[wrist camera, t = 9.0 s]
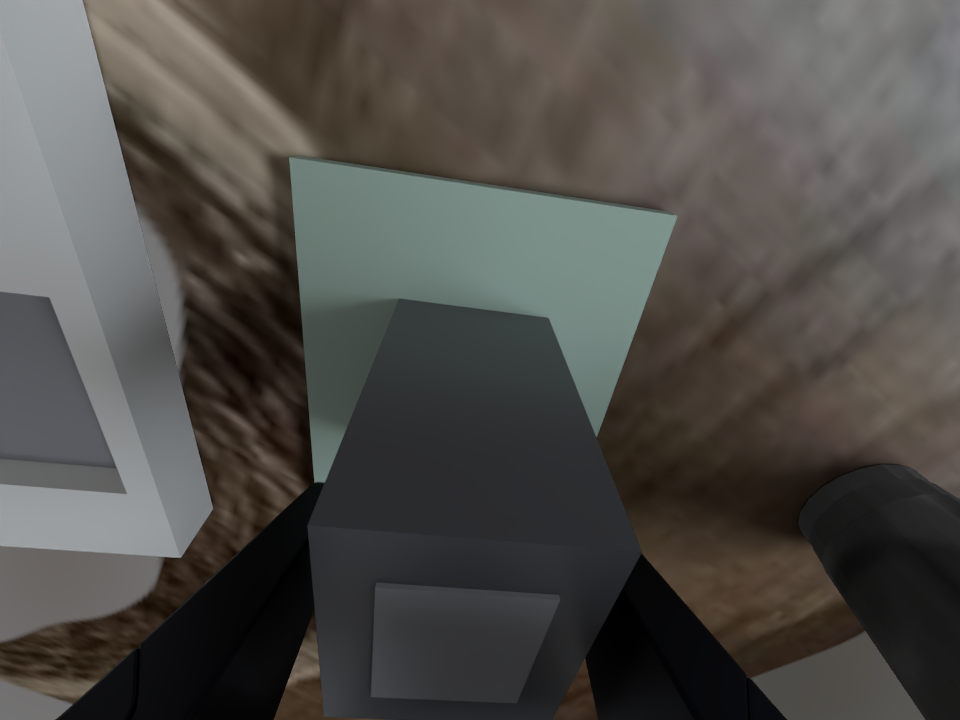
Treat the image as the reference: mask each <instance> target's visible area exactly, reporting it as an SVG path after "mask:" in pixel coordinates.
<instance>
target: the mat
mask: <svg viewBox="0 0 960 720" xmlns="http://www.w3.org/2000/svg"><path fill="white" fill-rule="evenodd" d="M289 162H290V175H291V188H292V201H293V213H294V226H295V239H296V252H297V265H298V278H299V291H300V303H301V316H302V329H303V342H304V355H305V368H306V381H307V393H308V406H309V419H310V432H311V445H312V458H313V471H314V483H315V482H325V481H326V478H327V476H328V473H329V471H330V468H331V466H332V463H333V461H334V458H335V456H336V454H337V451H338V449H339V446H340V444H341V441H342V439H343V436H344V434H345V431H346V429H347V426H348V424H349V421H350V419H351V416H352V414H353V411H354V409H355V406H356V404H357V402H358V399H359V397H360V394H361V392H362V389H363V387H364V384H365V382H366V379H367V377H368V374H369V372H370V369H371V367H372V364H373V362H374V359H375V357H376V354H377V352H378V349H379V347H380V345H381V342H382V340H383V337H384V335H385V332H386V330H387V327H388V325H389V322H390V320H391V317H392V315H393V312H394V310H395V307H396V305H397V302H398V300H399V298H400V299H408V300H415V301H423V302H431V303H438V304H446V305H454V306H461V307H469V308H477V309H484V310H492V311H500V312H507V313H515V314H523V315H530V316H538V317H546V318H549V320H550V322H551V325H552V327H553V330H554V332H555V335H556V338H557V340H558V343H559V345H560V348H561V350H562V353H563V355H564V358H565V360H566V363H567V365H568V368H569V370H570V373H571V375H572V378H573V380H574V383H575V385H576V388H577V390H578V393H579V395H580V398H581V400H582V403H583V405H584V408H585V410H586V413H587V415H588V418H589V420H590V423H591V425H592V428H593V430H594V433H595V435H596V438H597V435H598V433H599V430H600V427H601V424H602V422H603V419H604V416H605V413H606V411H607V408H608V405H609V402H610V400H611V397H612V394H613V391H614V389H615V386H616V383H617V380H618V378H619V375H620V372H621V369H622V367H623V364H624V361H625V358H626V356H627V353H628V350H629V348H630V345H631V342H632V339H633V337H634V334H635V331H636V328H637V326H638V323H639V320H640V317H641V315H642V312H643V309H644V306H645V304H646V301H647V298H648V295H649V293H650V290H651V287H652V284H653V282H654V279H655V276H656V273H657V271H658V268H659V265H660V262H661V260H662V257H663V254H664V251H665V249H666V246H667V243H668V240H669V238H670V235H671V232H672V229H673V227H674V224H675V221H676V218H677V215H674V214H672V213H670V212H668V211H663V210H656V209H649V208H643V207H636V206H630V205H623V204H616V203H610V202H603V201H597V200H590V199H583V198H577V197H570V196H564V195H557V194H550V193H544V192H537V191H531V190H524V189H517V188H511V187H504V186H497V185H491V184H484V183H478V182H471V181H464V180H458V179H451V178H445V177H438V176H431V175H425V174H418V173H412V172H405V171H398V170H392V169H385V168H379V167H372V166H365V165H359V164H352V163H346V162H339V161H332V160H326V159H319V158H313V157H306V156H294V157H289Z"/></svg>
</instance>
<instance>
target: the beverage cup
mask: <svg viewBox="0 0 960 720" xmlns="http://www.w3.org/2000/svg"><path fill="white" fill-rule="evenodd" d="M798 524H799V527H800V530H801V532H802V534H803V535H804V536H805V538H806V539H807V540H808V541H809V543H810V544H811V545H812V547H813V550H814V551H815V553H816V555H817V556H818V558H819V559H820V561H821V562H822V564H823V566H824V569H825V571H826V573H827V574H828V576H829V577H830V579H831V580H832V582H833V583H834V585H835V586H836V588H837V589H838V591H839V592H840V594H841V595H842V597H843V598H844V600H845V601H846V603H847V604H848V606H849V607H850V609H851V610H852V612H853V613H854V614H855V616H856V617H857V619H858V620H859V622H860V623H861V625H862V626H863V628H864V629H865V631H866V632H867V634H868V635H869V637H870V638H871V640H872V641H873V643H874V644H875V645H876V647H877V649H878V650H879V651H880V653H881V654H882V656H883V657H884V659H885V660H886V662H887V663H888V665H889V666H890V668H891V669H892V671H893V672H894V674H895V675H896V677H897V678H898V680H899V681H900V683H901V684H902V686H903V687H904V689H905V690H906V691H907V693H908V694H909V696H910V697H911V699H912V700H913V702H914V703H915V705H916V706H917V708H918V709H919V711H920V712H921V714H922V715H923V717H924V718H925V720H960V499H959V498H956V497H955V496H953V495H952V494H950V493H949V492H947V491H945V490H944V489H942V488H941V487H939V486H938V485H936V484H934V483H931V482H929V481H928V480H927V479H926V478H924V477H923V476H922V475H920V474H919V473H918V472H917V471H915V470H914V469H911V468H908V467H905V466H902V465H886V464H881V465H876V466H870V467H865V468H860V469H858V470H855V471H852V472H850V473H847V474H845V475H842V476H840V477H838V478H836V479H835V480H833V481H831V482H830V483H828V484H826V485H825V486H823V487H822V488H820V489H819V490H818V491H817V492H816V493H815V494H814V495H813V496H812V497H811V498H809V499H808V501H807V502H806V504H805V506H804V507H803V509H802V510H801V512H800V517H799V522H798Z"/></svg>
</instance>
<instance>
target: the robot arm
mask: <svg viewBox="0 0 960 720" xmlns="http://www.w3.org/2000/svg"><path fill="white" fill-rule="evenodd" d="M324 483H325V482H315V483H313V484H312V485H311V486H309V487H308V488H307V489H306V490H305V491H304V492H303V493H302V494H301V495H300V496H299V497H298V498H296V499H295V500H294V501H293V502H292V503H291V504H290V505H289V506H288V507H287V508H286V509H285V510H284V511H282V512H281V513H280V514H279V515H278V516H277V517H276V518H275V519H274V520H273V521H272V522H271V523H270V524H268V525H267V526H266V527H265V528H264V529H263V530H262V531H261V532H260V533H259V534H258V535H257V536H256V537H254V538H253V539H252V540H251V541H250V542H249V543H248V544H247V545H246V546H245V547H244V548H243V549H242V550H240V551H239V552H238V553H237V554H236V555H235V556H234V557H233V558H232V559H231V560H230V561H229V562H228V563H226V564H225V565H224V566H223V567H222V568H221V569H220V570H219V571H218V572H217V573H216V574H215V575H214V576H212V577H211V578H210V579H209V580H208V581H207V582H206V583H205V584H204V585H203V586H202V587H201V588H200V589H198V590H197V591H196V592H195V593H194V594H193V595H192V596H191V597H190V598H189V599H188V600H187V601H186V602H184V603H183V604H182V605H181V606H180V607H179V608H178V609H177V610H176V611H175V612H174V613H173V614H171V615H170V616H169V617H168V618H167V619H166V620H165V621H164V622H163V623H162V624H161V625H160V626H159V627H157V628H156V629H155V630H154V631H153V632H152V633H151V634H150V635H149V636H148V637H147V638H146V639H145V640H143V641H142V642H141V644H140V649H139V648H135V649H133V650H132V651H131V652H130V653H129V654H128V655H127V656H126V657H125V658H124V659H123V660H122V661H121V662H119V663H118V664H117V665H116V666H115V667H114V668H113V669H112V670H111V671H110V672H109V673H108V674H106V675H105V676H104V677H103V678H102V679H101V680H100V681H99V682H98V683H96V684H95V685H94V686H93V687H92V688H91V689H90V690H89V691H87V692H86V693H85V694H84V695H83V696H82V697H81V698H80V699H79V700H77V701H76V702H75V703H74V704H73V705H72V706H71V707H70V708H69V709H68V710H66V711H65V712H64V713H63V714H62V715H61V716H59V717H58V718H57V719H56V720H274V717H275V714H276V712H277V709H278V706H279V703H280V701H281V698H282V695H283V693H284V690H285V687H286V684H287V682H288V679H289V676H290V674H291V671H292V668H293V665H294V663H295V660H296V657H297V655H298V652H299V649H300V646H301V644H302V641H303V638H304V636H305V633H306V630H307V627H308V625H309V622H310V619H311V616H312V614H313V611H314V608H315V607H314V595H313V584H312V572H311V561H310V549H309V538H308V526H307V525H308V523H309V520H310V518H311V515H312V513H313V510H314V508H315V506H316V503H317V501H318V498H319V496H320V493H321V491H322V488H323V486H324ZM585 659H586V664H587V669H588V673H589V678H590V683H591V688H592V692H593V697H594V702H595V707H596V711H597V716H598V720H787V719H786V718H785V717H784V716H783V715H782V713H781V712H780V711H779V710H778V709H777V708H776V707H775V706H774V705H773V704H772V702H771V701H770V700H769V699H768V698H767V697H766V695H765V694H764V693H763V692H762V691H761V690H760V689H759V688H758V686H757V685H756V684H755V683H754V682H753V681H752V680H751V679H750V678H747V675H746V673H745V672H744V670H743V669H742V668H741V667H740V666H739V665H738V664H737V662H736V661H735V660H734V659H733V658H732V657H731V656H730V654H729V653H728V652H727V651H726V650H725V649H724V648H723V646H722V645H721V644H720V643H719V642H718V641H717V639H716V638H715V637H714V636H713V635H712V634H711V633H710V631H709V630H708V629H707V628H706V627H705V626H704V625H703V623H702V622H701V621H700V620H699V619H698V618H697V617H696V615H695V614H694V613H693V612H692V611H691V610H690V608H689V607H688V606H687V605H686V604H685V603H684V602H683V600H682V599H681V598H680V597H679V596H678V595H677V594H676V592H675V591H674V590H673V589H672V588H671V587H670V586H669V584H668V583H667V582H666V581H665V580H664V579H663V578H662V576H661V575H660V574H659V573H658V572H657V571H656V569H655V568H654V567H653V566H652V565H651V564H650V563H649V561H648V560H647V559H646V558H645V557H644V556H643V555H642V553H641V555H640V557H639V559H638V561H637V562H636V564H635V566H634V568H633V570H632V572H631V574H630V575H629V577H628V579H627V581H626V583H625V585H624V587H623V588H622V590H621V592H620V594H619V596H618V598H617V600H616V601H615V603H614V605H613V607H612V609H611V611H610V613H609V614H608V616H607V618H606V620H605V622H604V624H603V626H602V627H601V629H600V631H599V633H598V635H597V637H596V639H595V640H594V642H593V644H592V646H591V648H590V650H589V652H588V653H587V655H586V657H585Z"/></svg>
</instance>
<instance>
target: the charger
mask: <svg viewBox="0 0 960 720" xmlns="http://www.w3.org/2000/svg"><path fill="white" fill-rule="evenodd" d="M307 526H308V538H309V549H310V561H311V572H312V584H313V595H314V607H315V619H316V630H317V642H318V653H319V665H320V676H321V688H322V699H323V711H324V717H346V718H371V719H397V720H552V719H553V717H554V715H555V713H556V711H557V709H558V707H559V706H560V704H561V702H562V700H563V698H564V696H565V694H566V693H567V691H568V689H569V687H570V685H571V683H572V681H573V680H574V678H575V676H576V674H577V672H578V670H579V668H580V667H581V665H582V663H583V661H584V659H585V657H586V655H587V653H588V652H589V650H590V648H591V646H592V644H593V642H594V640H595V639H596V637H597V635H598V633H599V631H600V629H601V627H602V626H603V624H604V622H605V620H606V618H607V616H608V614H609V613H610V611H611V609H612V607H613V605H614V603H615V601H616V600H617V598H618V596H619V594H620V592H621V590H622V588H623V587H624V585H625V583H626V581H627V579H628V577H629V575H630V574H631V572H632V570H633V568H634V566H635V564H636V562H637V561H638V559H639V557H640V555H641V553H642V551H641V548H640V546H639V543H638V541H637V538H636V536H635V533H634V531H633V528H632V526H631V523H630V521H629V518H628V516H627V513H626V511H625V508H624V506H623V503H622V501H621V498H620V496H619V493H618V490H617V488H616V485H615V483H614V480H613V478H612V475H611V473H610V470H609V468H608V465H607V463H606V460H605V458H604V455H603V453H602V450H601V448H600V445H599V443H598V440H597V438H596V435H595V433H594V430H593V428H592V425H591V423H590V420H589V418H588V415H587V413H586V410H585V408H584V405H583V403H582V400H581V398H580V395H579V393H578V390H577V388H576V385H575V383H574V380H573V378H572V375H571V373H570V370H569V368H568V365H567V363H566V360H565V358H564V355H563V353H562V350H561V348H560V345H559V343H558V340H557V338H556V335H555V332H554V330H553V327H552V325H551V322H550V320H549V318H546V317H538V316H530V315H523V314H515V313H507V312H500V311H492V310H484V309H477V308H469V307H461V306H454V305H446V304H438V303H431V302H423V301H415V300H408V299H400V298H399V300H398V302H397V305H396V307H395V310H394V312H393V315H392V317H391V320H390V322H389V325H388V327H387V330H386V332H385V335H384V337H383V340H382V342H381V345H380V347H379V349H378V352H377V354H376V357H375V359H374V362H373V364H372V367H371V369H370V372H369V374H368V377H367V379H366V382H365V384H364V387H363V389H362V392H361V394H360V397H359V399H358V402H357V404H356V406H355V409H354V411H353V414H352V416H351V419H350V421H349V424H348V426H347V429H346V431H345V434H344V436H343V439H342V441H341V444H340V446H339V449H338V451H337V454H336V456H335V458H334V461H333V463H332V466H331V468H330V471H329V473H328V476H327V478H326V481H325V483H324V486H323V488H322V491H321V493H320V496H319V498H318V501H317V503H316V506H315V508H314V510H313V513H312V515H311V518H310V520H309V523H308V525H307Z"/></svg>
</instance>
